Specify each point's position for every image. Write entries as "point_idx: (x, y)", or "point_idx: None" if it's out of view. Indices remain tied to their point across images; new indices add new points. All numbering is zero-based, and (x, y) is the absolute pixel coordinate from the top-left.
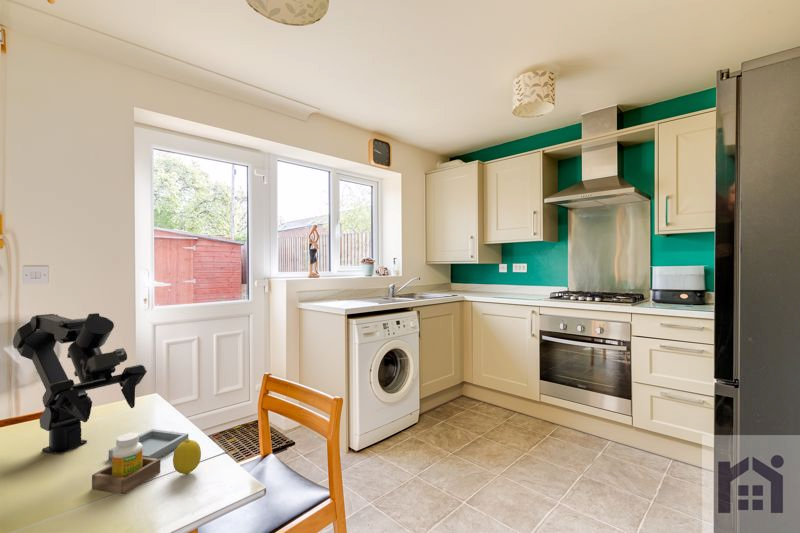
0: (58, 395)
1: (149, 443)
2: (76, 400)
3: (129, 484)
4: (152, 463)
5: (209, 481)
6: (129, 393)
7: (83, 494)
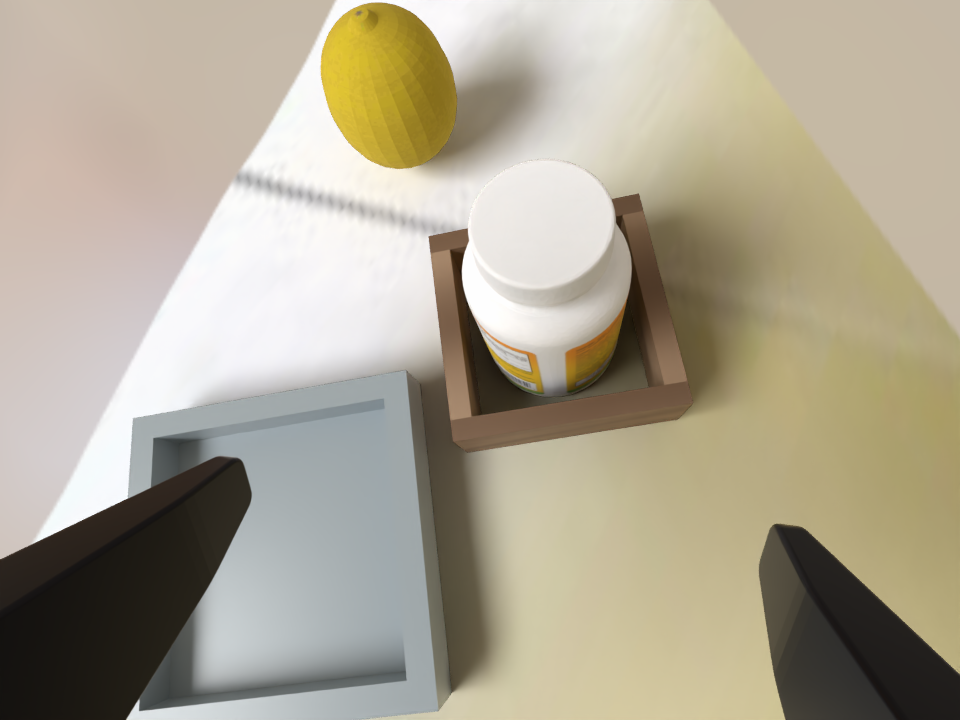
0: None
1: (246, 611)
2: None
3: None
4: None
5: None
6: (61, 605)
7: (721, 407)
